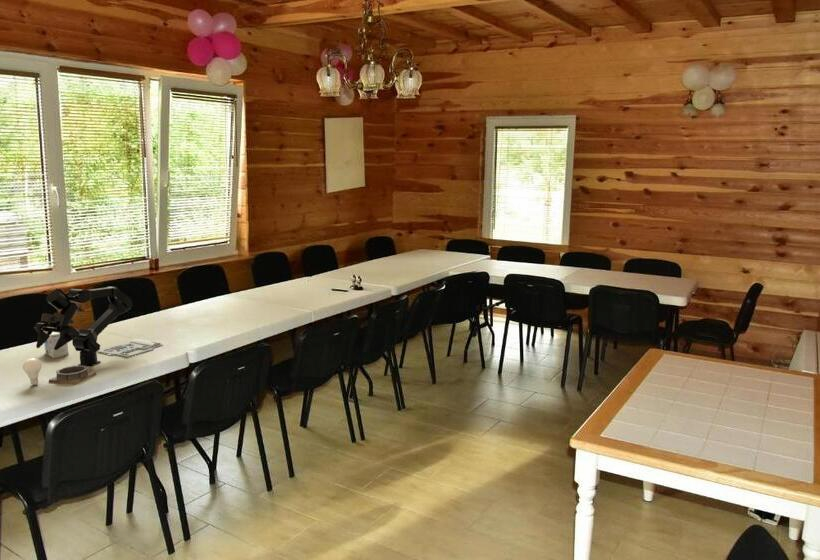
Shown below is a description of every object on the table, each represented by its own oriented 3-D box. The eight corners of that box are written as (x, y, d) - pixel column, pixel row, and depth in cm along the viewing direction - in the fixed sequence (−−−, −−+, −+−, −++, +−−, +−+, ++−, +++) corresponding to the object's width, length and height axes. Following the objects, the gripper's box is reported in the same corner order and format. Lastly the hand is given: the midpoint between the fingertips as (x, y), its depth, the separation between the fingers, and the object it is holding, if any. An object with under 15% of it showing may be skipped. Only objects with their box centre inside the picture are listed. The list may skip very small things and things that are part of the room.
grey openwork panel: (139, 336, 314) (167, 341, 304) (139, 341, 315) (168, 347, 305) (96, 348, 294) (125, 354, 284) (96, 353, 295) (125, 359, 285)
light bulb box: (44, 353, 294) (42, 330, 292) (60, 350, 299) (58, 327, 297) (53, 358, 287) (50, 334, 285) (69, 354, 291) (66, 331, 289)
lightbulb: (35, 388, 249) (32, 361, 247) (21, 387, 250) (17, 360, 248) (47, 382, 255) (44, 356, 253) (33, 381, 256) (30, 355, 254)
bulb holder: (70, 372, 267) (70, 364, 266) (96, 374, 264) (95, 366, 264) (48, 382, 255) (47, 373, 255) (75, 384, 253) (74, 375, 252)
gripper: (35, 303, 261) (13, 336, 253) (70, 306, 255) (50, 340, 247) (53, 317, 270) (33, 350, 262) (88, 321, 264) (69, 354, 256)
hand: (46, 348), depth 256 cm, fingers open, 9 cm apart
